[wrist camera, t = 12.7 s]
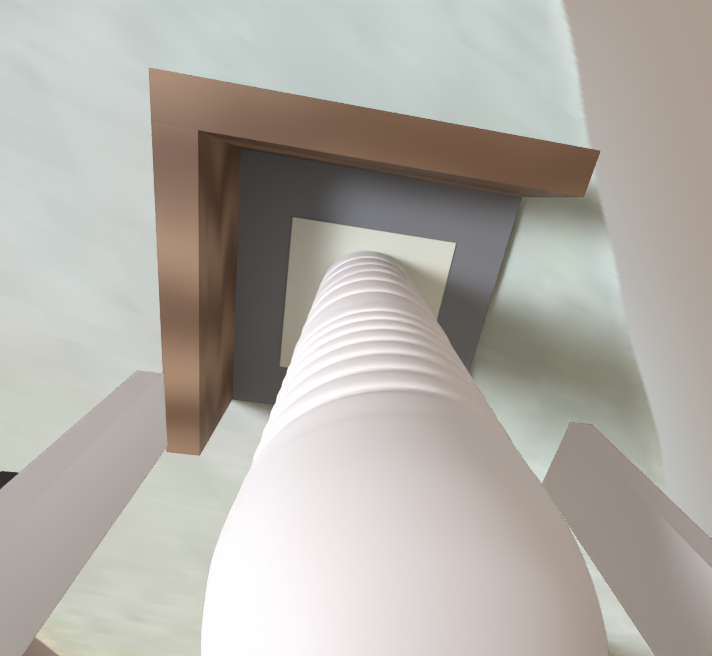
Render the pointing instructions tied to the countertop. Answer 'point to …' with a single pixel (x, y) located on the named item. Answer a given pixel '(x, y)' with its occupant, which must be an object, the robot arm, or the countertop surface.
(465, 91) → the countertop surface
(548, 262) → the countertop surface
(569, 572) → the water bottle
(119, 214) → the countertop surface
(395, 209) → the mat
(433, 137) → the corner walls
